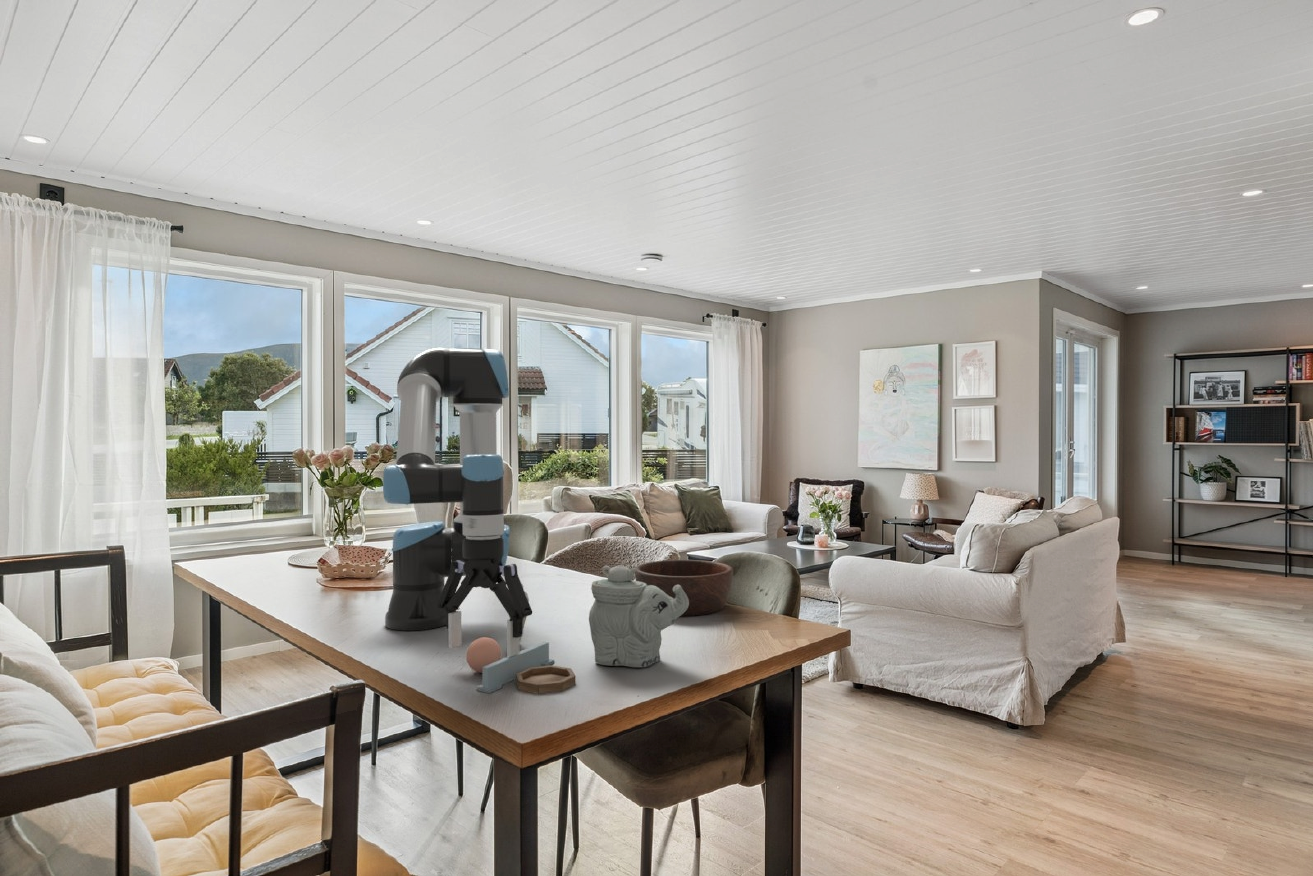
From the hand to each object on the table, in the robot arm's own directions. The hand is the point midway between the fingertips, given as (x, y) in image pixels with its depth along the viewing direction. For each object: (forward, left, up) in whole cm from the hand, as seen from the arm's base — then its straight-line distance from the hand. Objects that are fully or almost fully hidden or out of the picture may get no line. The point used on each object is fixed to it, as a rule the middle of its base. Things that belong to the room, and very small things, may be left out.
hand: (483, 651), depth 141 cm
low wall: (+7, +1, -4) cm, 8 cm away
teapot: (+23, +18, -4) cm, 30 cm away
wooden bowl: (+11, +64, -4) cm, 65 cm away
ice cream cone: (-6, +18, -4) cm, 20 cm away
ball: (0, 0, -4) cm, 4 cm away
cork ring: (+14, 0, -4) cm, 14 cm away
